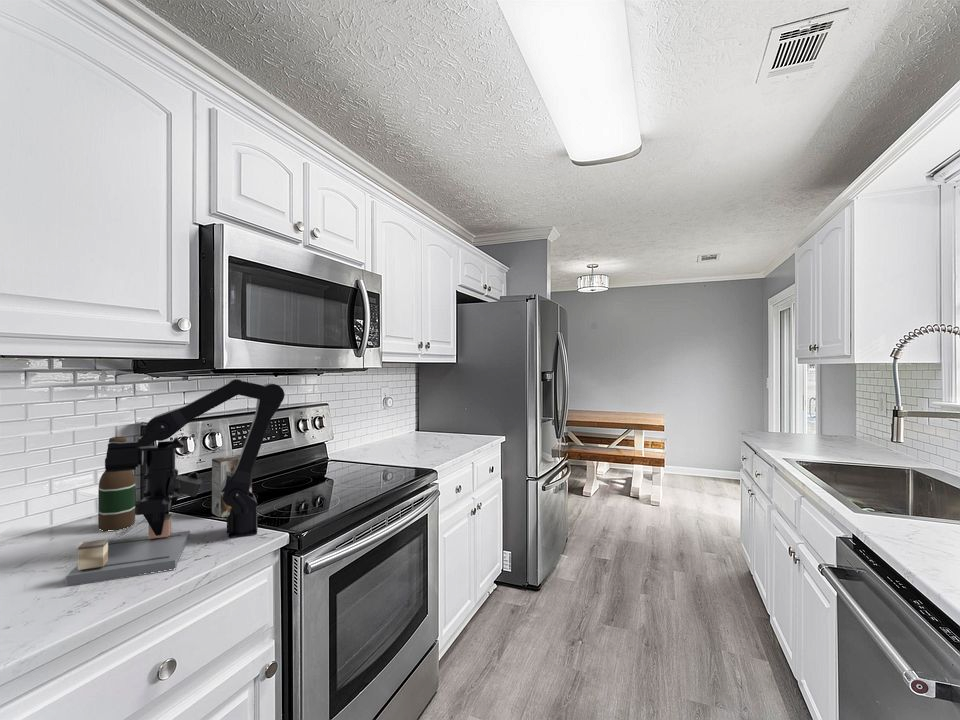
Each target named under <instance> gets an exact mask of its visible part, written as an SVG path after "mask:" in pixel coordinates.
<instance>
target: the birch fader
mask: <svg viewBox="0 0 960 720" xmlns="http://www.w3.org/2000/svg"><path fill="white" fill-rule="evenodd" d="M108 541H109V538H105V539H97V540H89V541H83V542H82V543H81V544H80V545H79V546H78V547H77V551H78V552H77V553H78V555H77V558H78V559H77V561H78V562H77V565H78V570H82V569H89V568H96V567H103V566H104V565H105V564H106V562H107V561H108Z"/></svg>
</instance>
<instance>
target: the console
mask: <svg viewBox="0 0 960 720" xmlns="http://www.w3.org/2000/svg"><path fill="white" fill-rule="evenodd" d="M190 532H191V531H190V530H187V531H186V530H185V531H177V532H171V533H170V535H169V537H161V538H153V539H148V535H146V536H138V537H130V538H129V537H128V538H120V539H112V540H108V561H107V562H106V564H105V565H104V566H103V567H96V568H89V569H82V570H78V564H77V565H76V566H75V567H74V568H73V569H71V571H70V572H69V573H68V574H67V575H66V587H71V586H77V585H84V584H91V583H96V582H104V580H105V581H109V580H110V579H111V580H116V579H115V578H118V579H122V578H121V577H124V578H128V577H127V576H131V577H134V576H133V575H138V576H140V575H139V574H144V573H151V572H157V573H159V572H158V571H164V570H169V569H174V568H176V569H177V567H178V565H177V563H178V562H180V561H179V559H180V560H181V558H182V556H183V554H184V552H185V550H186V548H185V547H187V546H186V545H188V543H189V541H190V539H189V538H190V536H191V535H190V534H191V533H190ZM188 540H189V541H188ZM184 549H185V550H184ZM183 551H184V552H183ZM182 553H183V554H182ZM181 555H182V556H181ZM180 557H181V558H180ZM178 564H179V563H178ZM176 566H177V567H176ZM164 572H165V571H164ZM151 574H152V573H151ZM144 575H145V574H144Z"/></svg>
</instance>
